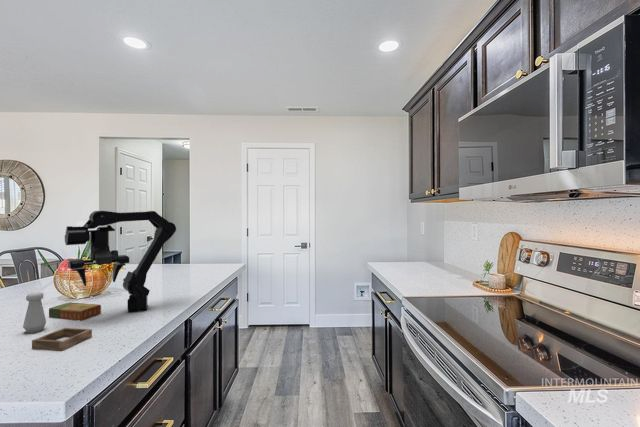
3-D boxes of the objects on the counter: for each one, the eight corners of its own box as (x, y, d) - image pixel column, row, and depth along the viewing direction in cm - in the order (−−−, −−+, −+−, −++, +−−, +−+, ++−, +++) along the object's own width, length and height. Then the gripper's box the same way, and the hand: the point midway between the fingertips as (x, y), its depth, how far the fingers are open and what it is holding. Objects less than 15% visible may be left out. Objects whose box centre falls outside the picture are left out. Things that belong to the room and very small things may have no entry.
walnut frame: (64, 335, 103) (64, 327, 103) (91, 337, 102) (91, 329, 102) (31, 348, 93) (31, 340, 93) (62, 350, 92) (62, 342, 92)
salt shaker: (18, 333, 104) (18, 294, 104) (35, 327, 110) (35, 290, 110) (34, 334, 104) (33, 295, 104) (50, 328, 109) (50, 291, 109)
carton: (81, 322, 117) (80, 310, 117) (48, 318, 120) (47, 307, 120) (101, 314, 125) (101, 304, 125) (69, 311, 129) (69, 301, 129)
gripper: (73, 246, 108) (73, 292, 108) (133, 243, 122) (133, 283, 122) (67, 244, 115) (67, 286, 115) (125, 241, 129) (125, 278, 129)
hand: (99, 283), depth 120 cm, fingers open, 9 cm apart
